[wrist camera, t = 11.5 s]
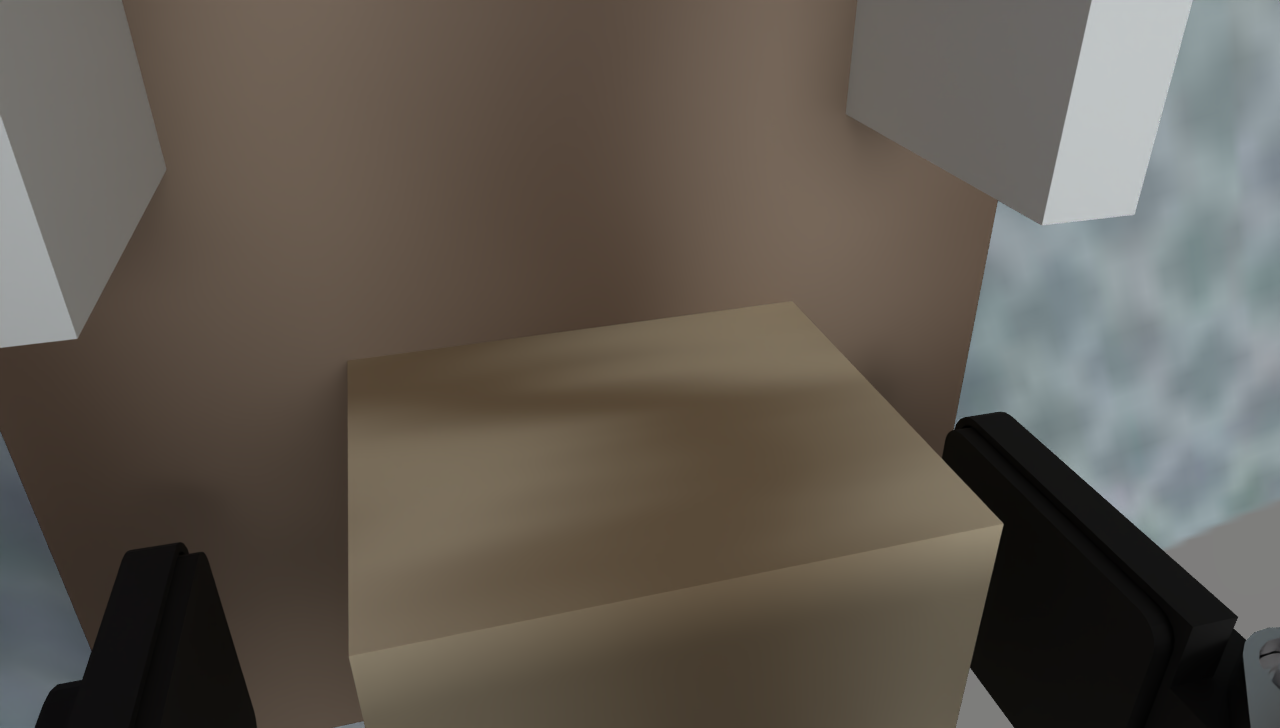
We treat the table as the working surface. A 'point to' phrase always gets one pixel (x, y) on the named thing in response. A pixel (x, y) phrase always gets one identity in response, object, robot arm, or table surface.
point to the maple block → (654, 535)
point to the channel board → (486, 231)
